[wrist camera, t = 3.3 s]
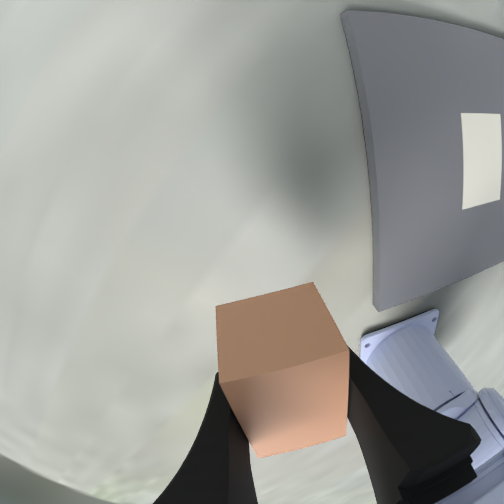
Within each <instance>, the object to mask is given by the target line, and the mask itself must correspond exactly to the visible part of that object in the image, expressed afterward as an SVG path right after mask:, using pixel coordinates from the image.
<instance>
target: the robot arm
mask: <svg viewBox="0 0 504 504" xmlns="http://www.w3.org/2000/svg"><path fill="white" fill-rule="evenodd" d="M438 316H439V311H438V310H437V309H432V310H430V311H428V312H425V313H423V314H420V315H418V316H415V317H413V318H410V319H408V320H405V321H402V322H400V323H397V324H394V325H392V326H389V327H386V328H384V329H381V330H378V331H375V332H372V333H369V334H366V335H364V336H363V337H362V338H361V345H360V358H359V357H358V356H357V355H356V354H355V353H354V352H353V351H352V350H351V349H350V348H349V347H348V348H349V390H348V411H347V417H348V419H349V421H350V424H351V426H352V428H353V430H354V432H355V434H356V436H357V439H358V441H359V444H360V447H361V450H362V453H363V456H364V459H365V462H366V465H367V469H368V472H369V475H370V479H371V482H372V486H373V489H374V493H375V497H376V501H377V504H504V398H503V397H502V396H501V395H500V394H499V393H498V392H497V391H496V390H495V389H494V388H488V389H487V388H483V389H482V390H481V391H480V392H477V391H475V389H474V388H473V386H472V385H471V384H470V382H469V381H468V380H467V378H466V377H465V375H464V374H463V373H462V371H461V370H460V369H459V367H458V366H457V365H456V364H455V362H454V361H453V360H452V358H451V357H450V356H449V354H448V353H447V352H446V351H445V349H444V348H443V347H442V346H441V344H440V343H439V342H438V341H437V339H436V338H435V337H434V334H435V329H436V325H437V320H438ZM153 504H258V502H257V497H256V492H255V487H254V482H253V477H252V472H251V465H250V453H249V440H248V439H247V437H246V435H245V433H244V431H243V429H242V427H241V425H240V424H239V422H238V420H237V418H236V416H235V414H234V412H233V410H232V408H231V406H230V404H229V402H228V400H227V398H226V396H225V394H224V392H223V390H222V388H221V386H220V384H219V372H217V373H216V376H215V381H214V386H213V390H212V394H211V397H210V401H209V404H208V407H207V410H206V414H205V417H204V419H203V422H202V424H201V427H200V430H199V432H198V435H197V437H196V439H195V441H194V443H193V445H192V447H191V449H190V451H189V453H188V455H187V457H186V459H185V460H184V462H183V464H182V466H181V467H180V469H179V470H178V472H177V473H176V475H175V476H174V478H173V479H172V480H171V482H170V483H169V485H168V486H167V487H166V489H165V490H164V491H163V493H162V494H161V495H160V496H159V497H158V498H157V499H156V501H155V502H154V503H153Z"/></svg>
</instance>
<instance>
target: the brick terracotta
mask: <svg viewBox="0 0 504 504" xmlns="http://www.w3.org/2000/svg"><path fill="white" fill-rule="evenodd" d="M216 329H217V351H218V370H219V384H220V386H221V388H222V390H223V392H224V394H225V396H226V398H227V400H228V402H229V404H230V406H231V408H232V410H233V412H234V414H235V416H236V418H237V420H238V422H239V424H240V425H241V427H242V429H243V431H244V433H245V435H246V437H247V439H248V440H249V442H250V444H251V446H252V448H253V450H254V451H255V453H256V455H257V457H258V458H262V457H267V456H272V455H276V454H281V453H285V452H290V451H294V450H298V449H302V448H306V447H309V446H313V445H317V444H320V443H324V442H327V441H330V440H334V439H337V438H340V437H343V436H346V426H347V411H348V390H349V348H348V346H347V344H346V342H345V341H344V339H343V337H342V335H341V333H340V331H339V329H338V327H337V325H336V324H335V322H334V320H333V318H332V316H331V314H330V312H329V310H328V309H327V307H326V305H325V303H324V301H323V299H322V298H321V296H320V294H319V292H318V290H317V288H316V287H315V285H314V283H313V282H311V283H307V284H303V285H299V286H296V287H292V288H288V289H284V290H280V291H276V292H272V293H268V294H264V295H260V296H256V297H252V298H248V299H244V300H240V301H235V302H231V303H227V304H223V305H218V306H216Z"/></svg>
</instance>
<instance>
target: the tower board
mask: <svg viewBox="0 0 504 504" xmlns="http://www.w3.org/2000/svg"><path fill="white" fill-rule="evenodd" d="M340 16H341V20H342V24H343V27H344V31H345V35H346V39H347V43H348V48H349V52H350V56H351V61H352V66H353V70H354V75H355V80H356V86H357V91H358V97H359V103H360V109H361V115H362V122H363V129H364V136H365V144H366V152H367V161H368V171H369V182H370V195H371V210H372V231H373V305H374V307H375V308H376V309H377V311H378V312H380V311H383V310H385V309H388V308H391V307H394V306H397V305H400V304H402V303H405V302H408V301H410V300H413V299H416V298H418V297H421V296H424V295H426V294H429V293H431V292H434V291H436V290H439V289H441V288H444V287H446V286H449V285H451V284H453V283H456V282H458V281H461V280H463V279H465V278H468V277H470V276H472V275H474V274H477V273H479V272H481V271H483V270H485V269H488V268H490V267H492V266H494V265H496V264H498V263H500V262H502V261H504V39H502V38H499V37H496V36H493V35H490V34H487V33H484V32H481V31H477V30H474V29H470V28H467V27H463V26H459V25H455V24H451V23H447V22H442V21H437V20H432V19H427V18H421V17H415V16H409V15H402V14H394V13H384V12H373V11H357V10H346V11H345V12H343V13H342V14H340Z"/></svg>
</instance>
